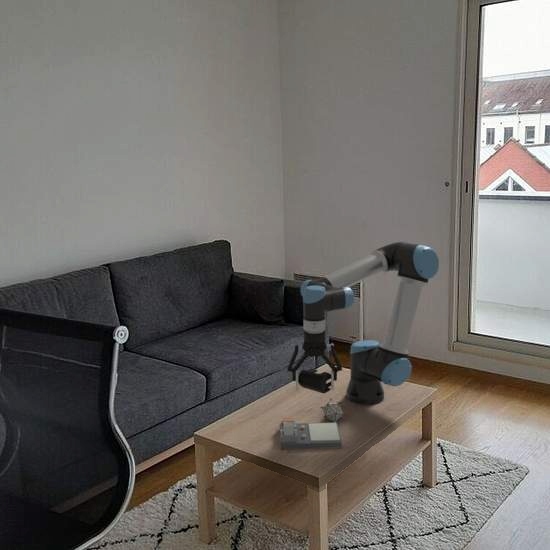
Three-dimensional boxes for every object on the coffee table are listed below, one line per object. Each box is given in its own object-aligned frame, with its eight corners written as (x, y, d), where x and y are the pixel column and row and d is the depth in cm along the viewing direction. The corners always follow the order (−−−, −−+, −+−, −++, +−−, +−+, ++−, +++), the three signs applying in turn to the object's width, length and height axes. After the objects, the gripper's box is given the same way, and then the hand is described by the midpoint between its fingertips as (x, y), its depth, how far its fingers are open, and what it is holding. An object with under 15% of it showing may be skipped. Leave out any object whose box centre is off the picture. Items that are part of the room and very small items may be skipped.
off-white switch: (293, 431, 232) (293, 421, 231) (293, 435, 228) (293, 426, 228) (283, 431, 232) (283, 422, 231) (283, 436, 228) (283, 426, 228)
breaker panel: (337, 427, 242) (337, 417, 241) (341, 447, 227) (341, 436, 226) (279, 429, 242) (279, 418, 241) (280, 449, 227) (280, 438, 226)
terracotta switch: (292, 425, 239) (292, 416, 238) (293, 430, 236) (293, 421, 235) (283, 426, 239) (282, 417, 238) (283, 430, 236) (283, 421, 235)
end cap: (297, 389, 236) (297, 371, 234) (309, 383, 241) (309, 366, 239) (320, 396, 229) (320, 378, 228) (332, 390, 234) (332, 372, 233)
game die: (338, 429, 248) (354, 411, 245) (323, 428, 243) (339, 410, 239) (326, 411, 254) (342, 393, 250) (312, 410, 248) (327, 392, 245)
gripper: (279, 334, 227) (280, 393, 232) (350, 333, 226) (349, 393, 231) (279, 327, 234) (280, 385, 239) (348, 326, 233) (347, 384, 238)
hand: (314, 389), depth 235 cm, fingers closed on end cap, 12 cm apart
